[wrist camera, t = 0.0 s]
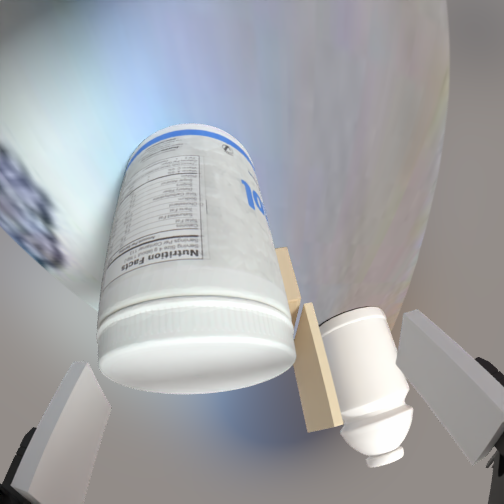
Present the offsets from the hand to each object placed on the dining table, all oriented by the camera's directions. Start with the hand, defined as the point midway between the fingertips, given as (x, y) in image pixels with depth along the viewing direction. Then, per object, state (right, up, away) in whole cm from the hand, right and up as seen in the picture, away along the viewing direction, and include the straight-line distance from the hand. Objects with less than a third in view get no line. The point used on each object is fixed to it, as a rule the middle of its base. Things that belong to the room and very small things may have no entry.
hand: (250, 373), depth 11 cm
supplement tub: (-5, +11, +11) cm, 16 cm away
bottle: (+18, -9, +43) cm, 47 cm away
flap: (+6, -5, +24) cm, 25 cm away
